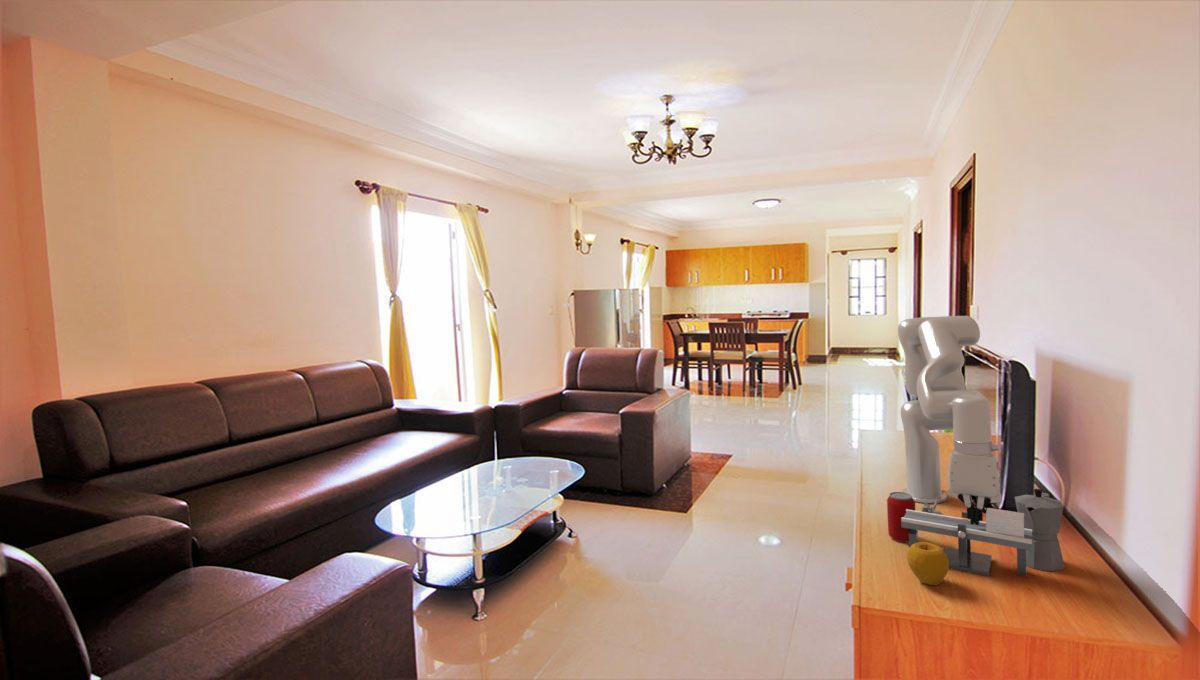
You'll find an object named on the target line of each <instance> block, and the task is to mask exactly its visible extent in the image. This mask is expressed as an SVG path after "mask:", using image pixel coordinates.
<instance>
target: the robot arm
mask: <svg viewBox="0 0 1200 680" xmlns="http://www.w3.org/2000/svg"><path fill="white" fill-rule="evenodd" d="M897 336H898V339H899V342H900V344H901V347H902V349H903V352H904V357H905V358H904V359H905V360H904V362H905V363H904V365H905V366H904V369H905V372H904V373H905V375H904V376H905V388H906V392H907V393H908V395H909V396H911V397H914V398H918V399H916V400H915V399H914V400H909V401H906V402H904V403H903V404H902V405H901V407H900V417H901V418H900V419H901V421H902V422H901V423H902V426H903V434H904V435H903V436H904V447H905V448H904V449H905V450H904V451H905V469H906V474H905V475H906V488H903V489H902V490H901V492H904V493H908V494H910V495H911V496H912V498H913V500H914V501H915V503H916V502H917V503H920V504H921V503H922V504H924V503H925V502H927V504H935V501H936V500H937V499H938V501H937V504H940V503H943V502H946V501H947V500H948V496H950V497H952V498H954V499H955V498H956V499H958V500H959V501H961V502H962V504H964V506H965V507H966V513H967V519H970V523H971V524H974V523H975V524H976V525H979V522H980V521H982V522H984V520H983V519H984V515H983V514H984V513H983V508H985V507H986V506H987V505H989V504H991V503H993V504H996V503H1002V501H1003V500H1002V499H1003V498H1002V495H1001V476H1000V467H999V462H998V461H999V460H998V457H997V454H996V453H994V452H995V451H997V452H998V451H999V452H1000V445H999V444H995V443H994V442H992V441H993V440H992V421H991V420H992V418H991V416H992V415H991V403H990V400H989V399H988V398H986V396H985V395H984V394H983V393H982V392H980V391H978V390H969V389H967V390H966V385H965V377H964V375H963V373H962V371H961V370H960V369H961V368H962V367H963V366H964V365H965V357H964V355H963V351H962V349H961V347H971V346H975V345H977V344H978V342H979V341H980V337H981V330H980V326H979V324H978V322H977V321H976V320H975V319H974V317H971V316H969V315H949V316H948V315H945V316H924V317H923V316H922V317H913V318H907V319H903V320H902V321H900V322H899V324H898V327H897ZM931 431H953V432H952V433H953V434H952V435H953V449H951V450H950V455H949V459H948V474H947V476H948V477H947V479H948V481H947V482H948V491H947V493H945V492H944V491H942V485H941V459H940V458H941V455H940V445H939V442H938V439H937V438H936V437H935V436H934V435H933V434H931V433H930V432H931ZM972 496H974V497H977V502H976V504H974V502H973V499H972Z"/></svg>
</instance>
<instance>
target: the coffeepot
mask: <svg viewBox="0 0 1200 680" xmlns="http://www.w3.org/2000/svg"><path fill="white" fill-rule="evenodd" d="M1033 492H1034V495H1033V494H1023V495H1018V496H1017V495H1016V496H1014V500H1015V506H1016V510H1017V511H1016V512H1019V513H1024V528H1026V529H1032V551H1031V550H1026V567H1027V568H1030V569H1034V570H1038V571H1039V570H1040V571H1046V572H1058V571H1062V570H1063V569H1065V567H1066V565H1065V563H1064V559H1063V554H1062V550H1061V546H1060V542H1059V538H1058V533H1060V530H1061V524H1062V518H1063V513H1064V512H1063V511H1064V505H1063V503H1062V501H1061V500H1058V499H1054V496H1053V495H1052V493H1051V491H1048V490H1047V491H1044V492H1043V489H1041V488H1034V489H1033Z"/></svg>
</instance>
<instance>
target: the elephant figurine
mask: <svg viewBox="0 0 1200 680" xmlns="http://www.w3.org/2000/svg"><path fill="white" fill-rule="evenodd" d="M937 501H938V499H937V500H936V501H935V503H933V505H930V504H929V503H927V502H925V503H923V505H922V507H921V510H920V511H921V512H927V513H933V514H939V515H945V516H947V515H946V514H943V513H942V512H941V511H939V510H936V506H937V504H938V503H937Z"/></svg>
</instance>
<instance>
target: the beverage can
mask: <svg viewBox="0 0 1200 680" xmlns="http://www.w3.org/2000/svg"><path fill="white" fill-rule="evenodd" d="M886 507H887V508H886V509H887V530H888V535H889V537H891V538H892V539H893V540H895V541H897V542H902V543H909V532H910V530H911V529H909V528H904V527H901V518H902V517H904V516H905V514H906V509H908V510H914V511H917V510H916V501H914V500H913V498H912V496H911V495H910V494H908V493H904V492H902V491H894V492H893V491H892V492H890V493H889V495H888V497H887V500H886ZM913 530H915V529H913Z"/></svg>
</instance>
